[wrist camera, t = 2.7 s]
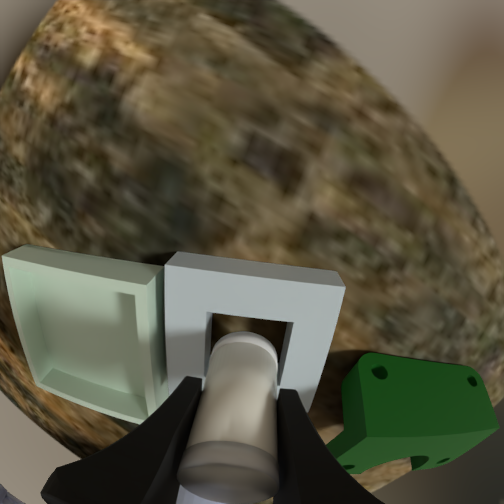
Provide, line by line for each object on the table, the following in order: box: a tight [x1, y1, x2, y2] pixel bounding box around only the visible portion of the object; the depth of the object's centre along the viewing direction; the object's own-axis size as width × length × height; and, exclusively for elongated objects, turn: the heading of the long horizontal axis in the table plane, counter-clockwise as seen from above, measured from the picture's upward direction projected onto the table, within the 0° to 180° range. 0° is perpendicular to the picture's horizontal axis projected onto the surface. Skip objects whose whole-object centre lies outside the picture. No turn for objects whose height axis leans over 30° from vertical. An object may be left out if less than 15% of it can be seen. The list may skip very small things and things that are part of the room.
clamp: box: [326, 353, 499, 474], centre depth 15 cm, size 12×6×9 cm, turn 68°
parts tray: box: [2, 244, 169, 424], centre depth 15 cm, size 10×10×2 cm
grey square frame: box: [165, 251, 346, 412], centre depth 15 cm, size 8×8×2 cm
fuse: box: [177, 331, 279, 504], centre depth 10 cm, size 3×3×7 cm
